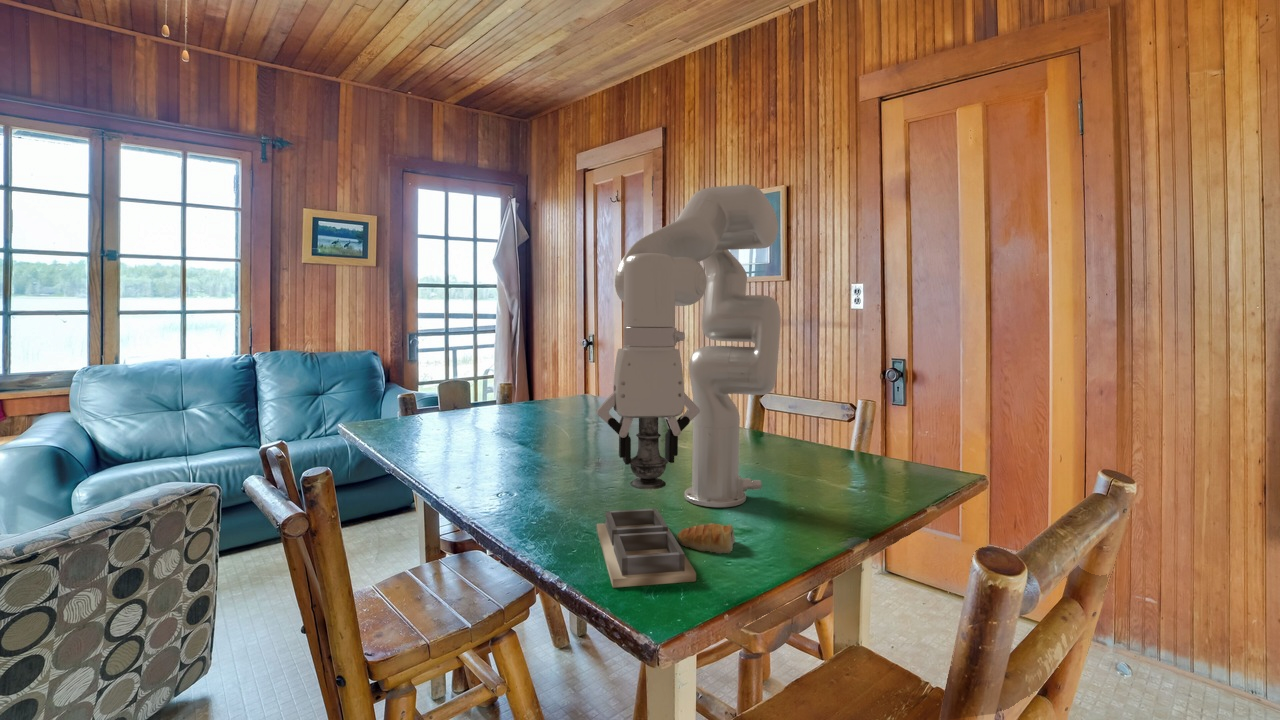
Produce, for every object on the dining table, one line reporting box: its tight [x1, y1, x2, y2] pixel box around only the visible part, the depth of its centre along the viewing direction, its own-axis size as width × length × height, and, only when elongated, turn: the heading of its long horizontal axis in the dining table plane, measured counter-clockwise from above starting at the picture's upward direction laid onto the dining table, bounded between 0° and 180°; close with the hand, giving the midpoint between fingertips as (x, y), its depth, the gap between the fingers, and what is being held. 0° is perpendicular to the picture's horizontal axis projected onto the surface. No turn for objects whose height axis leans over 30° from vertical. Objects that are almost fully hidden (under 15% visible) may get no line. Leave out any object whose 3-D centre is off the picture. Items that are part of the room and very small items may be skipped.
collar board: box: [596, 508, 697, 589], centre depth 94 cm, size 12×22×4 cm, turn 10°
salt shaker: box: [629, 418, 669, 490], centre depth 87 cm, size 6×6×12 cm
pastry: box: [677, 522, 736, 554], centre depth 97 cm, size 9×7×4 cm
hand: (648, 460), depth 87 cm, fingers closed on salt shaker, 5 cm apart
